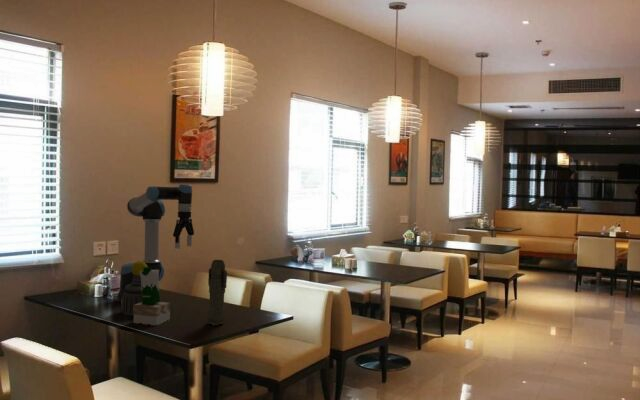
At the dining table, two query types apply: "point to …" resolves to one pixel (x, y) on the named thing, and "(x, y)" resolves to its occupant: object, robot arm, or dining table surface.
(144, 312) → the tower top
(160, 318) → the tower base
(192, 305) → the dining table surface
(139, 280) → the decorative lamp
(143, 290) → the soya milk
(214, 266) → the dark figurine statue
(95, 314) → the dining table surface
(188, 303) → the dining table surface
